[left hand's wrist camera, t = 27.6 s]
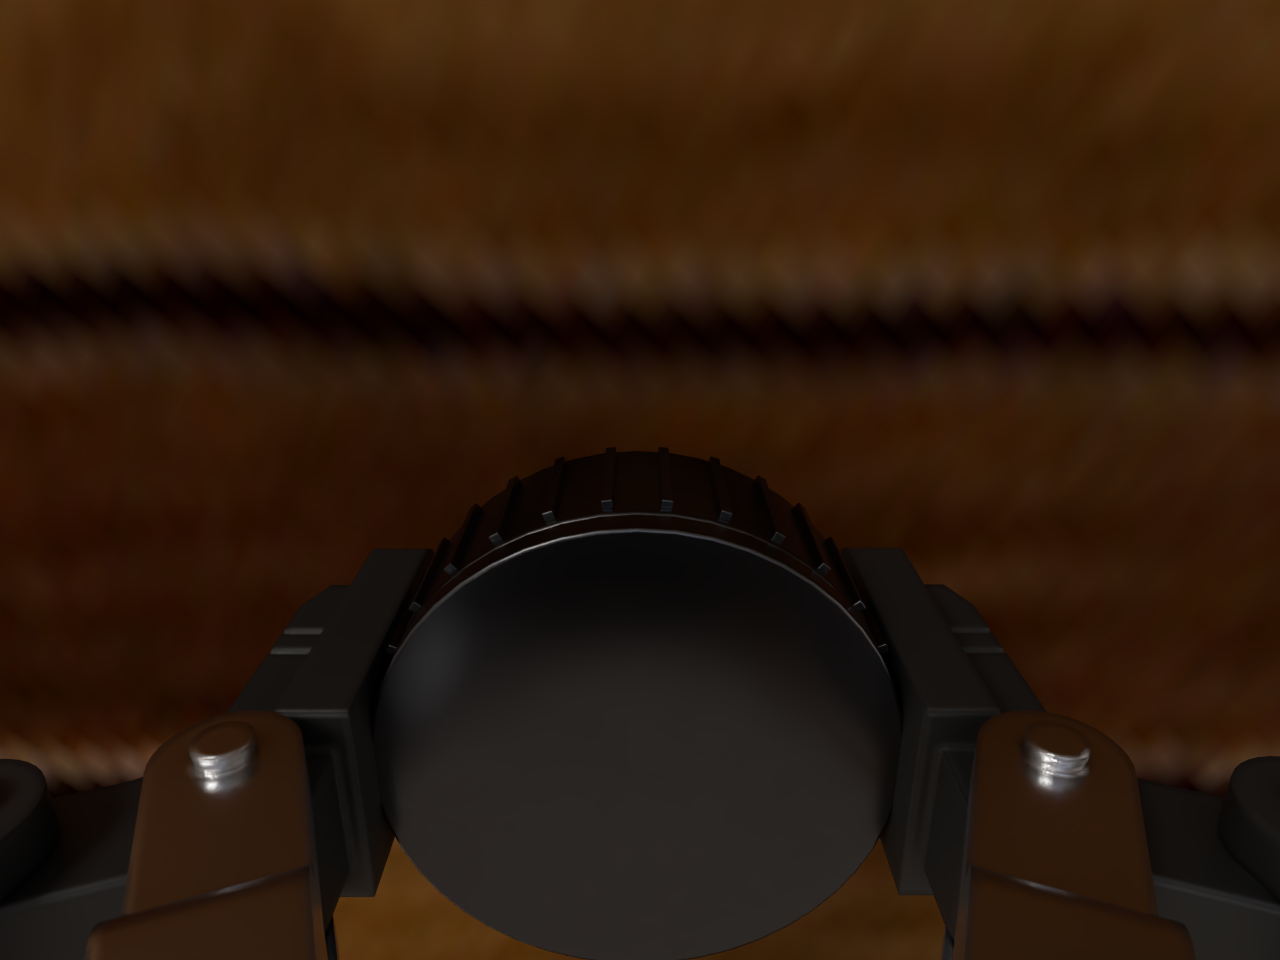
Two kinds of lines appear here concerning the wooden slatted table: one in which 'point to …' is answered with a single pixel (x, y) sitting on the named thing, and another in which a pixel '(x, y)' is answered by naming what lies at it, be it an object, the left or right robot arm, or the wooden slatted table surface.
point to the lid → (637, 712)
